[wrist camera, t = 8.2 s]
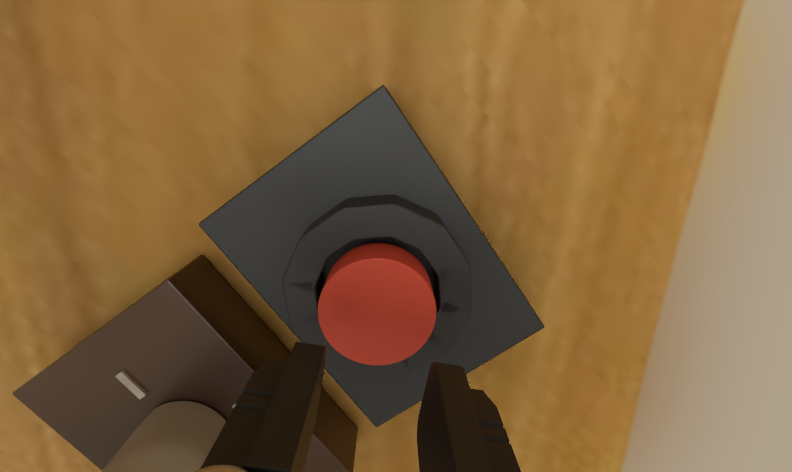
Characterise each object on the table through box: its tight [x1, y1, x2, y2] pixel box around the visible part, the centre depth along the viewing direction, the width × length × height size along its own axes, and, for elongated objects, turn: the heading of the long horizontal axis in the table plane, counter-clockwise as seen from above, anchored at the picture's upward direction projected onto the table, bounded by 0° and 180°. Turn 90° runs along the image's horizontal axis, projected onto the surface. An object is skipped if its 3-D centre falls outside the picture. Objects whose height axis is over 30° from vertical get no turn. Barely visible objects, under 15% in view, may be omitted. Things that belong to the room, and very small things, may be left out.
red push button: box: [318, 243, 436, 365], centre depth 14 cm, size 4×4×2 cm
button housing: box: [199, 85, 544, 427], centre depth 16 cm, size 12×9×4 cm
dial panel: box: [13, 255, 357, 472], centre depth 19 cm, size 12×9×3 cm
